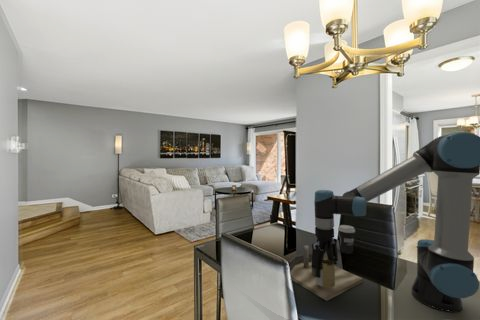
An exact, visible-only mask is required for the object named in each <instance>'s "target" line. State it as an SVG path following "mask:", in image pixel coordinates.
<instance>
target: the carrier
mask: <svg viewBox="0 0 480 320" xmlns="http://www.w3.org/2000/svg"><path fill="white" fill-rule="evenodd" d="M309 247H310V246H309V245H305V244H304V245H303V253H302V252H301V253H299V254H296V255H294V256H292V257H290V259H289V260H288V261H287V264H288V263H289V266H290V270H291V277H292V280H291V281H292V282H294V283H296V284H297V285H299V286H301V287H303V288H304V289H306V290H308V291H309V292H311V293H313V294H314V295H316V296H317V297H320V298H321V299H322V300H325V301H326V302H328V301H330V300H331V299H334V298H335V297H338V296H339V295H341V294H343V293H345V292H346V291H347V292H348V291H349V290H350V289H352V288H355V287H356V286H358V285H360V284H361V283H364V279H363V277H361V276H358V275H356V274H353V273H351V272H349V271H346V270H345V269H342V268H340V267H338V266H335V286H333V287H331V288H327V287H322V286H320V285H318V284H316V271H315V269H314V268H312V252H310V251H309V249H310V248H309Z"/></svg>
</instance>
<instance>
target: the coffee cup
mask: <svg viewBox="0 0 480 320" xmlns="http://www.w3.org/2000/svg"><path fill="white" fill-rule="evenodd" d="M337 230H338V236H339V247H340V248H339V249H340V252H341V253H342V254H345V255H346V254H347V255H351V254H353V252H354V241H355V233H356V229H355V227H354V226H352V225H349V224H348V225H347V224H341V225H339V226H338V228H337Z"/></svg>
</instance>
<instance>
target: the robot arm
mask: <svg viewBox="0 0 480 320" xmlns="http://www.w3.org/2000/svg"><path fill="white" fill-rule="evenodd" d="M432 172H433V173H434V174H435V175H436V176H437V189H436V192H437V193H436V205H435V208H436V209H435V221H434V225H435V226H434V237H433V238H434V239H419V240H417V244H416V245H417V246H416V248H417V250H416V252H417V253H416V254H417V255H416V256H417V257H416V259H417V260H416V265H417V266H416V267H417V268H416V277H415V280H414V281H413V284H412V286H411V295H412V294H413V295H412V296H413V297H414V298H415V299H416V298H417V299H418V300H419V301H418V300H417V299H416V300H417V301H418V302H420V301H421V302H420V303H422V302H423V303H425V304H427V305H426V306H428V305H430V306H433V307H435V308H438V309H437V310H439V309H443V310H449V311H457V312H459V311H458V310H460V311H462V309H463V300H462V299H466V298H469V297H472V296H474V295H476V294H477V293H478V290H479V288H480V281H479V279H478V276H477V274H476V273H475V272H474V265H475V264H474V263H475V262H474V261H475V256H473V254H471V252H470V251H469V238H470V227H471V226H470V225H471V224H470V223H471V209H472V208H471V207H472V194H473V181H474V178H476V177H478V176H479V175H480V136H479V135H478V134H476V133H472V132H467V131H458V132H450V133H448V134H446V135H445V134H444V135H441V136H438V137H436V138H434V139H433V140H431V141H430V142H428V143H427V144H425V145H424V146H422V147H420V148H419V149H418V150H416V151H414V152H413V154H412V156H410V157H408V158H407V159H404V160H403V161H402V162H400V163H398V164H396V165H395V166H392V167H390V168H388V169H387V170H386V171H383V172H382V173H380V174H378V175H376V176H375V177H373V178H371V179H368V180H366V181H365V182H364V183H362V184H360V185H358V186H356V187H355V188H353V189H351V190H349V191H345V192H344V193H343V194H342V195H335V194H334V191H332V190H327V189H317V190H316V191H315V192H314V222H315V223H314V225H315V227H314V235H315V236H316V242H315V243H312V244H311V248H312V250H311V253H312V268H314V269H315V271H316V284H318V285H320V286H323V270H322V269H321V267H322V262H323V258H324V256H325V254H326V256H327V258H328V259H330V260H333V261H334V264H335V266H337V264H338V261H339V258H338V247H337V245H338V244H337V242H338V239H337V238H335V229H334V228H335V217H334V215H342V216H351V217H352V216H353V217H365V216H366V215H367V203H368V202H370V201H372V200H375V198H377V197H379V196H381V195H384V194H386V193H387V192H389V191H391V190H393V189H395V188H398V187H399V186H401V185H403V184H405V183H407V182H409V181H411V180H413V179H414V178H417V177H419V176H421V175H422V174H424V173H432ZM423 303H422V304H423ZM425 304H424V305H425ZM430 306H429V307H430ZM433 307H432V308H433ZM435 308H434V309H435ZM461 308H462V309H461ZM443 310H442V311H443ZM449 311H448V312H449Z"/></svg>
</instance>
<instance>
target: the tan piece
mask: <svg viewBox="0 0 480 320" xmlns="http://www.w3.org/2000/svg"><path fill="white" fill-rule="evenodd" d="M335 267H336V265H335V264H334V261H333V260H330V259H328V257H327V258H326V257H325V258H324V257H323V262H322V267H321V269H322V270H323V286H322V287H327V288H331V287H333V286H335Z"/></svg>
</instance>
